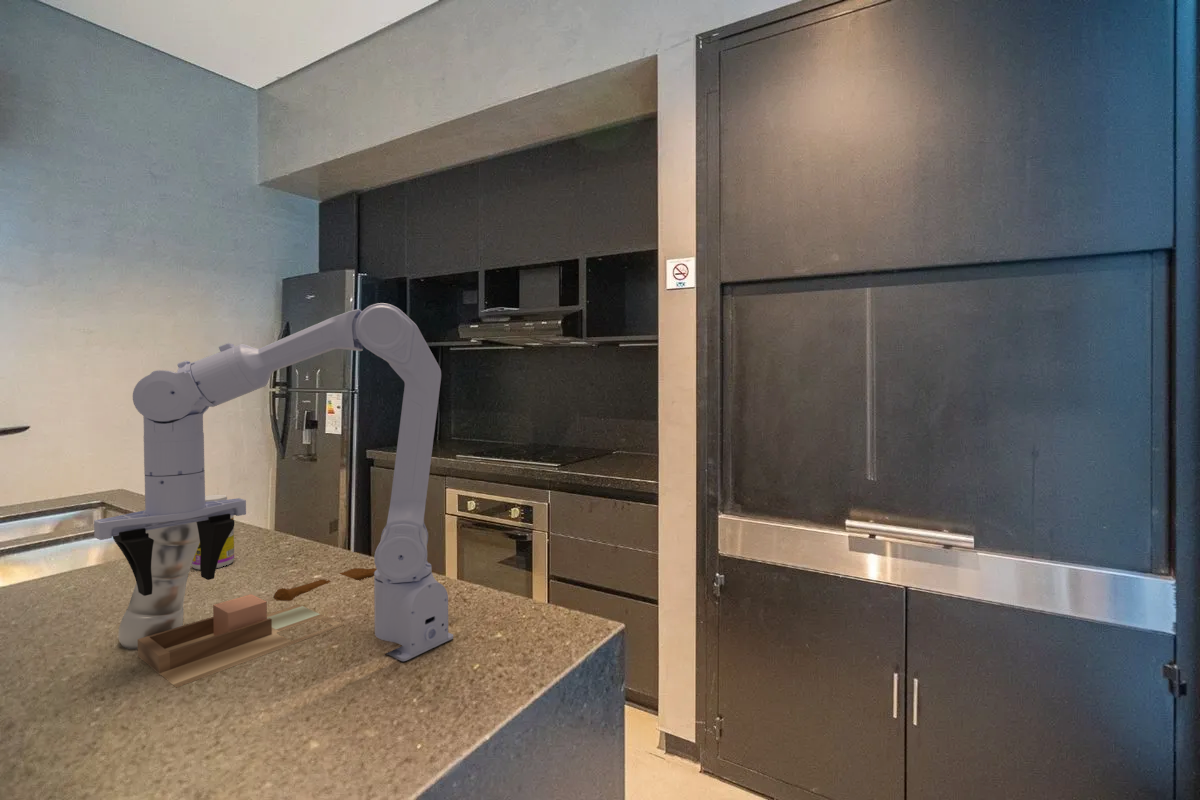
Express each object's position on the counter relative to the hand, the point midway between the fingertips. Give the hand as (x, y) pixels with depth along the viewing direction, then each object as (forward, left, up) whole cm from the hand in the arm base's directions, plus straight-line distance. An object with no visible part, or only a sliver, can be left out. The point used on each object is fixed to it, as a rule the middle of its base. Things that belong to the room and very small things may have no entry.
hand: (177, 585), depth 67 cm
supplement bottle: (+39, -18, -10) cm, 44 cm away
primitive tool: (+11, -25, -11) cm, 29 cm away
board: (-2, -7, -10) cm, 12 cm away
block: (0, -7, -8) cm, 11 cm away
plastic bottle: (+8, +1, -10) cm, 13 cm away
